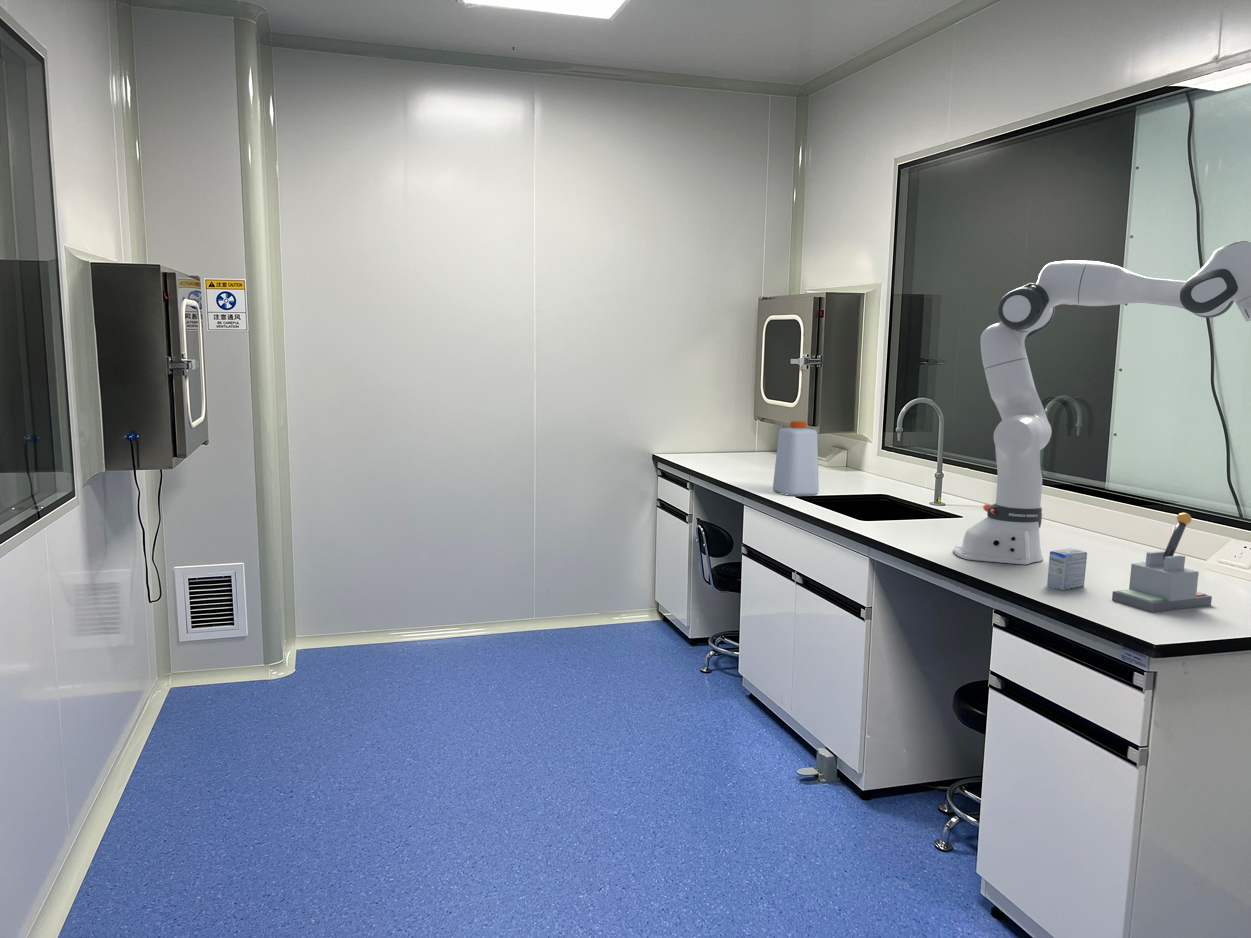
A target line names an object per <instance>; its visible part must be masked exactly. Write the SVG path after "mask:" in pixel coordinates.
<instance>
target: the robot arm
mask: <svg viewBox="0 0 1251 938" xmlns="http://www.w3.org/2000/svg"><path fill="white" fill-rule="evenodd" d="M1234 302H1235V304H1236V306H1237V308H1238V310H1239V312H1240V313H1241V315H1242V318H1243V320H1244V321H1245V322H1249V321H1251V241H1247V240H1239V241H1236V242H1235V241H1234V242H1231V243H1229V244H1225V245H1223V246H1221V247H1219V248H1216V249H1215V250H1214V251H1213V253H1212V255H1211V256H1210V258H1209V259H1208V260H1207V262H1206V263H1205V264H1204V265H1203V266H1202V267H1201V268H1200V269H1199V270H1198V271H1197V272H1196V273H1195V274H1194V275H1192V276H1191V277H1190V278H1189V279H1187V280H1178V279H1177V280H1175V279H1166V278H1153V277H1147V276H1143V275H1140V274H1138V273H1134V272H1132V271H1130V270H1128V269H1126V268H1125V267H1124V268H1123V267H1121V266H1119V265H1115V264H1111V263H1107V262H1102V261H1095V260H1060V261H1053V262H1049V263H1047V264H1046V265H1044V267H1043V268H1042V269H1041V270H1040V273H1039V274H1038V278H1037V281H1036V283H1035V282H1029V283H1027V284H1025V285H1023V286H1020V287H1017V288H1015V289H1013V290H1011V291H1009V292H1007V293H1005V295H1004V296H1003V297H1002V298H1001V300H1000V301H999V304H998V309H997V313H998V317H999V319H1000V321H999V322H997V323H994V324H991V325H989V326H988V327H986V328H985V329H984V330H983V331H982V333H981V335H980V354H981V361H982V366H983V369H984V370H983V371H984V374H985V378H986V383H987V387H988V390H989V394H990V398H991V400H992V402H993V403H994V405H995V407H996V409H997V411H998V413H999V416H1000V419H1001V421H1000V422H999V423H998V424H997V425H996V428H995V429H994V432H993V443H994V445H995V446H994V447H995V461H996V468H997V469H996V470H997V473H996V474H997V481H996V482H997V484H996V498H995V503H994V504H991V505H990V504H989V503H984V505H982V509H983V511H985V512H986V513H987V517H985V518H983V519H982V520H980V521H979V522H978V523H975V524H973V525H972V526H970V527H969V528H967V530H966V531H965V533H964V536H963V540H962V543H961V544H962V545H955V546H954V547H953V553H954V554H955V555H956V556H958V557H959V558H962V559H965V560H970V561H971V560H972V561H981V562H989V563H991V562H992V563H1001V564H1002V563H1003V564H1005V563H1006V564H1013V565H1014V564H1016V565H1029V564H1031V563H1038V562H1041V561H1043V560H1044V558H1043V554H1042V553H1043V552H1042V548H1041V539H1040V538H1041V537H1040V535H1041V534H1040V528H1041V525H1042V521H1043V520H1042V519H1043V508H1042V507H1041V502H1042V492H1043V474H1042V469H1041V454H1040V453H1041V450H1043V449H1044V448H1045V447H1046V446H1047V445H1048V444H1049V442H1050V439H1051V438H1052V426H1051V424H1050V422H1049V420H1048V417H1047V415H1046V412H1045V409H1044V406H1043V402H1042V401H1041V399H1040V397H1039V394H1038V392H1037V388H1036V385H1035V382H1034V381H1035V380H1034V378H1033V374H1032V370H1031V366H1030V361H1029V359H1028V355H1027V351H1026V345H1025V344H1026V343H1025V340H1026V338H1029V337H1031V336H1032V335H1034V334H1035V333H1037V332H1039V331H1041V330H1043V328H1045V327H1046V326H1048V325H1049V324H1050V323H1051V322H1052V320H1053V318H1054V315H1055V310H1056V309H1055V307H1056V306H1059V305H1075V306H1083V307H1106V306H1107V307H1108V306H1117V305H1126V304H1148V305H1149V304H1150V305H1157V306H1167V307H1177V308H1181V309H1184V310H1186V311H1189V312H1190V313H1191V314H1193V315H1195V316H1197V317H1201V318H1206V319H1210V318H1211V319H1212V318H1216V317H1219V316H1221V315H1223V314H1225V313H1226V312H1227V311H1228V310H1229V309H1231V307H1232V305H1233V304H1234Z"/></svg>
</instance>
